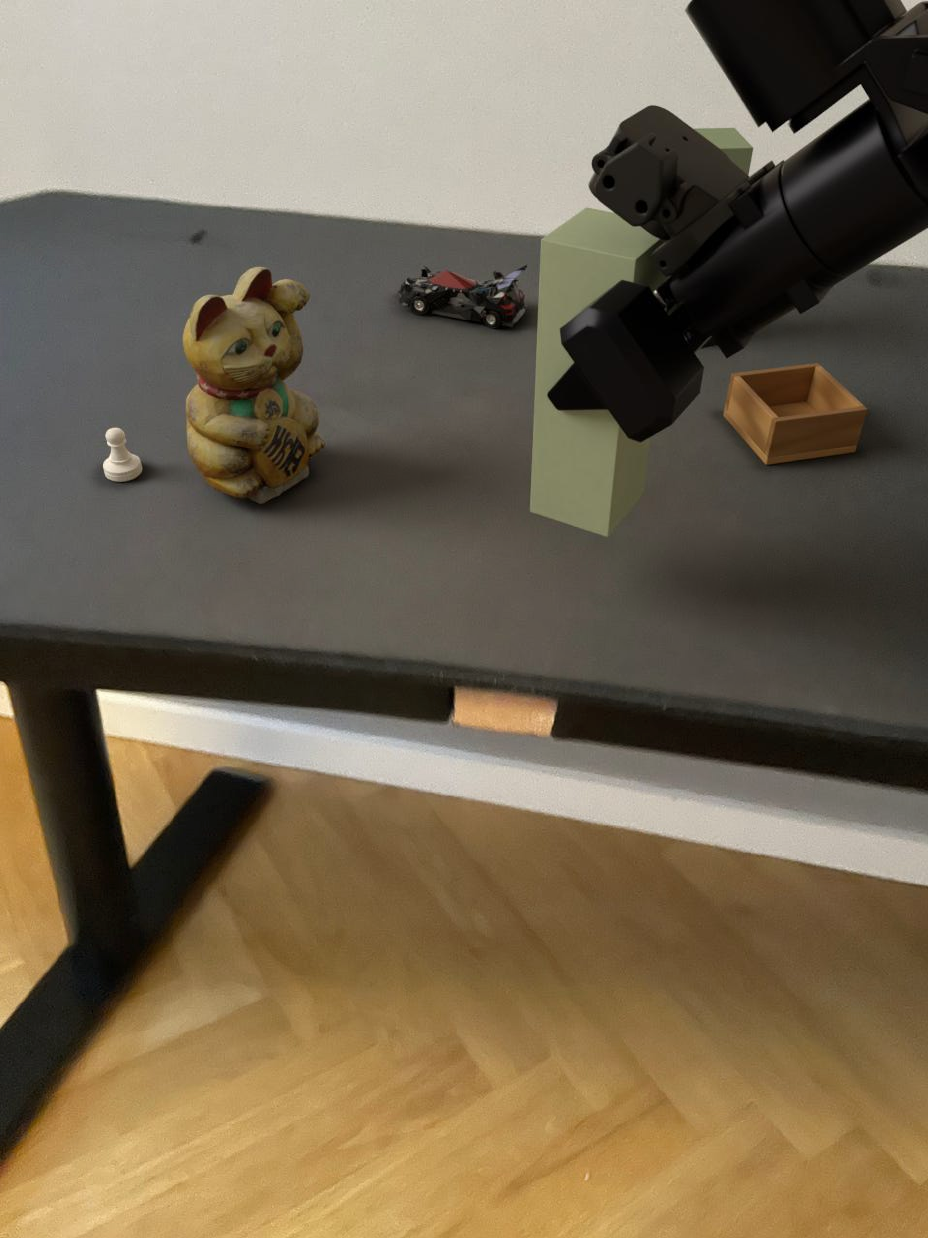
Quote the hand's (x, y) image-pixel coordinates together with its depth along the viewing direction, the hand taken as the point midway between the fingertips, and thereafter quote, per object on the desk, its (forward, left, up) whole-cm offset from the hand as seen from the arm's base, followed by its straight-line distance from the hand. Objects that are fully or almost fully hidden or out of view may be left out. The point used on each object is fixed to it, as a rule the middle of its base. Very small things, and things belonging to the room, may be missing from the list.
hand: (575, 380), depth 58 cm
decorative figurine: (+23, -5, -14) cm, 27 cm away
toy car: (+16, -35, -14) cm, 41 cm away
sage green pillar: (-1, 0, -8) cm, 8 cm away
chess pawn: (+32, -3, -14) cm, 35 cm away
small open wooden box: (-13, -21, -13) cm, 29 cm away
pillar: (-4, -36, -13) cm, 39 cm away
